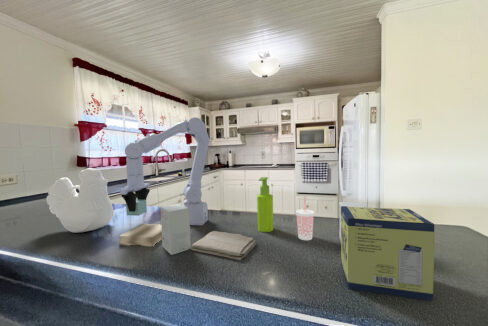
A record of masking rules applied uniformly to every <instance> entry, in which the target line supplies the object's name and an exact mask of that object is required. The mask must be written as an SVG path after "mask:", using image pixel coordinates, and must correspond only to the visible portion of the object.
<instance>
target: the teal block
mask: <svg viewBox="0 0 488 326" xmlns="http://www.w3.org/2000/svg"><path fill="white" fill-rule="evenodd" d="M125 207H126V209H125V210H126V216H134V217H137V216H139V217H140V216H142V215H143V214H145V213H147V212H148V210H147V209H148V207H147V199H146V200H143V199H136V210H135V211H134V212H129V209H128V206H127V204H126V203H125Z"/></svg>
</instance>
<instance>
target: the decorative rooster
mask: <svg viewBox="0 0 488 326" xmlns="http://www.w3.org/2000/svg"><path fill="white" fill-rule="evenodd" d="M77 175H78V176H77V177H78V179H79V181H80V182H79V184H76V185H74V184H73V183H72V181H71V179H70V178H69V177H60V178H59V179H57V180H55V182H54V184H52V185H51V186H50V187H49V188H48V192H47V196H46V199H45V200H46V204H47V205H48V208H49V211H50V212H51V214H52V215H55V216H56V218H58V219H59V222H60V223H61V224H62V226H63V227H64V229H66V230H67V231H69V232H70V233H74V234H75V233H84V232H90V231H94V230H97V229H98V230H99V229H100V228H103V227H105V226H106V225H108V224H109V222H111V221H112V219H113V217H114V214H115V213H114V208H113V207H114V206H113V203H112V200H111V199H110V196H109V192H108V183H109V181H108V179H105V177H104V176H103V173H102V171H101V170H100V169H98V168H92V167H88V168H85V169H82V170H80V171H78V174H77ZM77 190H78V191H79V192H77Z"/></svg>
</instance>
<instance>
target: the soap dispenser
mask: <svg viewBox="0 0 488 326" xmlns="http://www.w3.org/2000/svg"><path fill="white" fill-rule="evenodd" d="M268 179H269V177H267V176H263V177H260V178H259V179H258V181H259V182H262V183H261V185H260V186H259V188H260V189H259V190H260V193H259V194H257V195H256V202H257V203H256V209H257V213H256V214H257V215H256V216H257V231H258V232H260V233H261V232H262V233H270V232H272V231H274V203H273V202H274V201H273V199H274V196H273V194H271V193H270V185H268Z"/></svg>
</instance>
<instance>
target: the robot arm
mask: <svg viewBox="0 0 488 326" xmlns="http://www.w3.org/2000/svg"><path fill="white" fill-rule="evenodd" d="M186 133H187V134H188V135H190V136H191V137H192V138H193V139H194V141H196V148H195V153H194V157H193V160H192V161H193V162H192V166H191V171H190V176H189V179H188V180H187V184H186V186H185V187H184V189H183V196H184V197H185V199H184V201H183V206H185V207H188V208H189V220H190V226H204V225H205V223H207V221H208V220H209V217H208V215H209V214H208V208H209V207H208V203H207V202H206V201H202V196H203V194H202V193H203V192H202V178H203V173H204V169H205V163H206V160H207V155H208V151H209V150H208V149H209V145H210V137H209V134H208V130H207V127H206V124H205V123H204V122H203V120H202V118H199V117H191V118H189V119H185V120H182V121H181V122H178V123H176V124H174V125H173V126H170V127H169V128H167V129H165V130H163V131H161V132H160V133H158V134H157V133H154V132H151V133H150V132H149V133H147V134H146V136H143V137H142V138H140V139H135V140H134V142H129V143H128V144H127V145H126V146H125V148H124V154H125V155H126V159H125V161H126V165H125V166H126V167H125V168H126V182H127V185H125V186H124V187H122V188H120V189H119V194H120V195H121V197H122V199H123V200H124V201H125V205H126V204H127V206H128V209H129V212H134V211H135V210H136V199H143V200H146V201H147V198H148V196H149V193H150V192H151V189H150V182H145V181H144V180H145V179H144V178H145V175H144V162H143V157H142V156H143V154H147V153H150V152H152V151H153V150H156V149H157V148H159V147H161V144H162V142H163V141H165V140H168V139H169V138H172V137H173V136H176V135H178V134H186Z"/></svg>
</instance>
